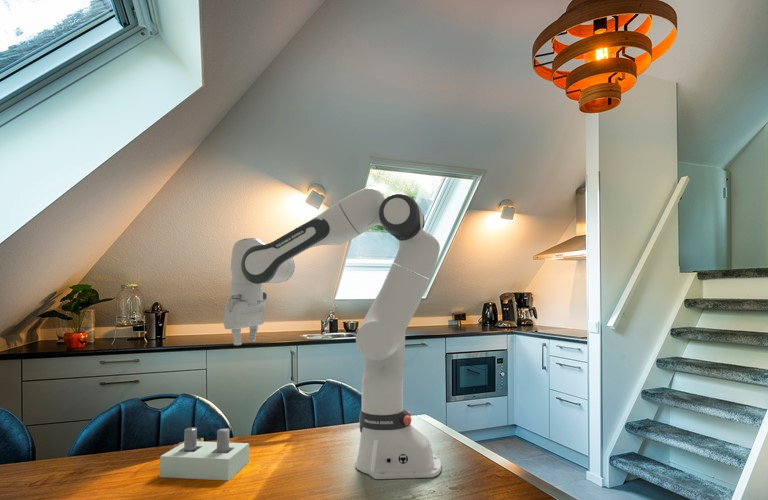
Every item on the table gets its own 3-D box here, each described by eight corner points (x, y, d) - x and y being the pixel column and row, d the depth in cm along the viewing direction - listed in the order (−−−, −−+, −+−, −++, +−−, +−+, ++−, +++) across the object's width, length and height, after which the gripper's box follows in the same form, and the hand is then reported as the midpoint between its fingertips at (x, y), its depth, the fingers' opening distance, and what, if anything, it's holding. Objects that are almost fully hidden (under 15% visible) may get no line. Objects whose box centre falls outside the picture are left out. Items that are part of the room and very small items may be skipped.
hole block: (248, 462, 124) (249, 424, 125) (228, 480, 113) (229, 438, 113) (186, 459, 127) (187, 422, 128) (159, 477, 115) (161, 435, 116)
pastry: (167, 459, 128) (168, 444, 128) (169, 451, 134) (170, 437, 135) (204, 454, 131) (204, 440, 132) (204, 447, 137) (204, 434, 138)
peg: (198, 466, 121) (199, 427, 122) (191, 471, 118) (193, 431, 119) (187, 466, 122) (188, 427, 123) (180, 470, 119) (182, 430, 120)
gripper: (240, 294, 123) (239, 347, 122) (269, 294, 143) (268, 339, 142) (218, 294, 124) (216, 347, 123) (250, 294, 144) (249, 339, 143)
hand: (244, 343), depth 133 cm, fingers open, 8 cm apart
